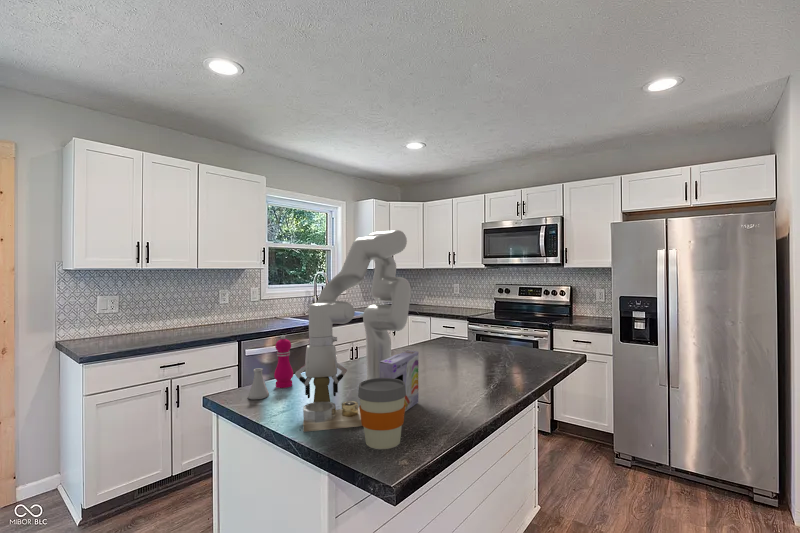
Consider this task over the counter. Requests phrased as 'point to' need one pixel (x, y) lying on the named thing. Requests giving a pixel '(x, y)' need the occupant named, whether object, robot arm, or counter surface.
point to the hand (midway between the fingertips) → (321, 395)
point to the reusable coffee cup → (382, 411)
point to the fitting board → (334, 422)
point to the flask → (258, 386)
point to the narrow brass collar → (349, 409)
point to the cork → (321, 389)
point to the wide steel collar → (319, 412)
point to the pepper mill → (283, 364)
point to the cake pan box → (403, 374)
